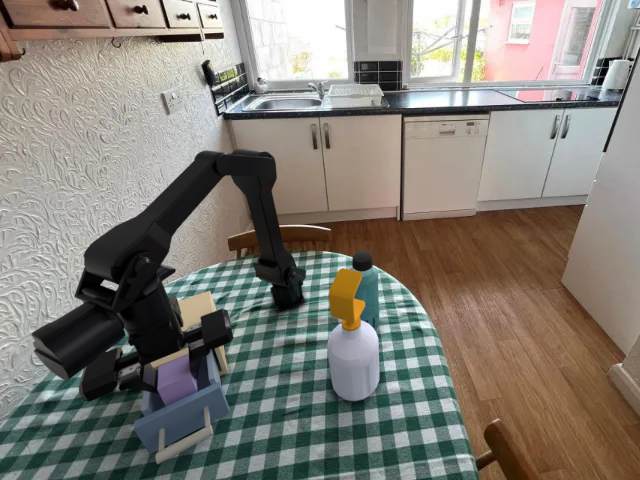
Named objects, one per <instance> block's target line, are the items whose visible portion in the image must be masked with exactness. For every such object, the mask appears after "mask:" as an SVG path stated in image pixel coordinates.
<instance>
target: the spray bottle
mask: <svg viewBox="0 0 640 480" xmlns="http://www.w3.org/2000/svg"><path fill="white" fill-rule="evenodd" d="M361 279H362V273H361V272H358V271H354V270H350V269H349V268H345V267H343V268H339V270H338V271H337V273H336V275H335V277H334V279H333V281H332V283H331V286H330V288H329V291H328V304H329V311H330V316H331V318H335V319H339V320H341V323H339V324H338V325H337V326H335V327H334V328H333V329H332V331H331V333H330V334H329V337H328V339H327V344H326V350H327V357H328V364H329V365H328V366H329V372H330V380H331V384H332V389H333V391H334V392H335V393H336V394H337V396H338V397H340V398H342V399H343V400H345V401H350V402H358V401H363V400H365V399H367V398H368V397H370V396H371V395H372V394H373V392H374V391H375V390H376V389H377V387H378V385H379V382H380V347H379V337H378V334H377V331H375V330H374V328H373V327H372V326H371V325H370V324H369V323H366V322H364V321H362V320H361V319H360V315H361V313H362V311H363V309H364V307H365V302H364V301H362V300H358V299H354V297H355V293H356V291H357V289H358V286H359V284H360V281H361Z"/></svg>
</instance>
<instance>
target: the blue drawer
mask: <svg viewBox="0 0 640 480" xmlns="http://www.w3.org/2000/svg"><path fill="white" fill-rule="evenodd" d="M156 373H157V374H158V370H156ZM197 390H198V392H196V393H194V394H192V395H189V396H187V397H185V398H183V399H181V400H179V401H177V402H175V403H172V404H170V405H168V406H165V404H164V402H163V400H162V398H161V396H160V394H156V393H152V392H148V391H143V394H142V403H141V413H142V414H143V417H140V418H139V419H136V420H134V422H133V430H134V432H135V434H136V435H137V437H138V438H139V440H140V442H141V443H142V445H143V447H144V448H145V450H146V452H147V453H148V454H149V455H151V454H153V453H155V452H156V453H155V462H156V464H157V465H160V464H161V463H164V462H165V461H167V460H169V459H171V458H173V457H174V456H176V455H178V454H180V453H182V452H184V451H185V450H188V449H189V448H191V447H193V446H195V445H197V444H199V443H201V442H203V441H204V440H207V439H208V438H210V437H212V436H213V435H214V429H213V425H212V424H211V423H213V422H215V421H217V420H218V419H221V418H223V417H224V416H227V415H228V414H230V406H229V404H228V403H229V402H228V400H227V398H226V395H225V393H224V390H223V387H222V383H221V376H220V374H219V367H218V359H217V355H216V352H215V349H213V350H212V349H210V353H209V355H207V356H205V357H204V358H203V360H202V362H201V365H200V368H199V374H198V379H197ZM203 427H204V428H203ZM199 429H200V430H199ZM197 430H198V431H197ZM195 431H196V432H195ZM188 435H189V436H188ZM176 441H177V442H176ZM174 442H175V443H174ZM172 443H173V444H172ZM168 445H169V446H168ZM166 446H167V447H166Z"/></svg>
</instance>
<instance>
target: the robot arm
mask: <svg viewBox="0 0 640 480" xmlns="http://www.w3.org/2000/svg"><path fill="white" fill-rule="evenodd" d="M227 176H230V177H231V180H232V182H233V183H234V185H235V186H236V187H237V188H238V189H239V190H240V191H241V193H242V194H243V195H244V196H245V198H246V199H245V200H246V202H247V206H248V210H249V213H250V217H251V220H252V225H253V229H254V233H255V236H256V240H257V243H258V248H259V251H260V252H259V256H258V258H257V259H256V261H254V262H253V263H252V266H253V269H254V272H255V278H258V280H260V281H262V282H265V283H268V284H271V286H270V288H269V289H270V294H271V299H272V302H273V305H274V307H275V308H276V307H277V308H276V309H277V310H278V312H279V313H283V312H286V311H288V310H291V309H293V308H296V307H298V306H301V305H303V304H305V303H306V298H305V296H304V292H303V285H304V281H305V280H306V277H307V269H303V268H301V267H298V266H297V263H296V260H295V257H294V256H293V255H292V254H291V253H290V251H289V250H287V248H286V247H285V246H284V240H283V235H282V232H281V227H280V223H279V218H278V214H277V209H276V204H275V200H274V194H273V189H274V187H275V183H276V181H277V179H278V174H277V162H276V159H275V156H274V155H273V154H271V153H270V152H269V151H266V150H265V151H264V150H258V149H248V148H236V149H234V150H233V151H232V152H224V151H216V150H208V149H207V150H206V149H205V150H202V151H199V152H197V153H196V155H195V157H194V159H193V161H192V162H191V163H190V164H189V165H188V166H187V167H186V168H185V169H184V170H183V171H182V172H181V173H180V174H179V175H178V176H177V177H176V178H175V179H174V180H173V181H172V182H171V183H170V184H169V185H168V186H167V187H166V188H164V190H163V191H162V192H161V193H160V194H159V195H157V197H156V198H155V199H154V200H153V201H152V202H150V203H149V205H147V206H146V208H144V209H143V210H142V211H141V212H139V214H137V215H136V216H134V217H133V218H130V219H128V220H125V221H122V222H121V223H119V224H116V225H115V226H113V227H112V228H111V229H109V230H108V231H106V232H105V233H103V234H102V235H101V236H99V237H98V238H96V239H95V240H94V241H92V242H91V243H90V244H89V246H88V247H87V248H86V249H85V251H84V252H83V265H84V268H83V271H82V273H81V277H80V278H79V282H78V283H77V287H76V290H75V292H74V298H75V299H77V300H79V301H82V304H80V305H78V306H77V307H75V308H74V309H72V310H70V311H69V312H67V313H65V314H64V315H62V316H60V317H59V318H57V319H55V320H53V321H50V322H48V323H46V324H44V325H42V326H41V327H39V328H37V329H36V330H33V331H32V333H31V337H32V338H33V340H34V341H33V342H32V345H33V347H34V350H33V353H34V354H35V356H36V357H37V358H38V359H39V361H40V362H41V363H42V364H43V365H44V366H45V367H46V368H47V369H48V370H50V371H51V372H52V373H53V374H54V375H55V376H57V377H58V378H60V379H61V380H64V381H69V380H71V378H73V377H74V376H76V375H77V374H78V373H79V372H81V371H82V373H81V377H80V380H79V383H78V393H79V395H80V396H81V398H82V399H83V402H87V403H90V402H92V401H95V400H97V399H100V398H103V397H104V396H107V395H109V394H111V393H113V392H114V391H115V390H116V389H117V387H118V391H120V392H125V391H127V390H130V391H140V392H141V391H148V392H152V393H156V394H159V392H158V390H157V384H158V374H157V373H156V371H155V370H154V368H153V367H152V365H151V362H154V361H156V360H159V359H161V358H164V357H166V356H169V355H171V354H173V353H176V352H178V351H180V350H183V349H185V348H187V347H188V350H189V363H190V367H191V371H192V375H193V377H194V378H195V379H198V374H199V368H200V365H201V362H202V360H203V358H204V357H205V356H207V355H209V353H210V349H212V350H213V349H216V348H218V347H220V346H223V345H224V346H225V345H228V344H230V343H232V342H233V340H234V333H233V328H232V322H231V318H230V314H229V311H228V310H227V309H226V308H223V307H222V308H219V309H216V310H217V311H214V312H212V313H209V314H206V315H203V316H201V322H199V323H196V324H194V325H191V326H189V327H188V328H187V330H186V331H183V332H182V329H181V327H184V322H183V319H182V317H181V310H180V307H179V304H178V298H177V295H174V296H170V297H169V295H168V293H167V291H166V288H165V286H164V283H163V281H165V280H166V279H168V278H170V277H171V276H172V275H173V274H175V273H176V271H177V270H176V268H175V267H172V266H169V265H166V264H163V262H164V261H165V260H166V258H167V256H168V255H169V253H170V249H171V244H172V241H173V240H172V239H173V236H175V234H176V232H177V230H179V228H180V227H181V226H182V225H183V223H184V222H186V220H187V219H188V218H189V217H190V216H191V214H193V213H194V211H195V210H196V209H197V208H198V206H200V204H201V203H202V202H203V201H204V200H205V199H206V198H207V196H208V195H210V193H211V192H212V191H213V189H214V188H215V187H217V185H218V184H219V183H220V181H222V180H223V178H224V177H227ZM104 281H107V282H110V283H112V284H115V285H118V286H117V289H116V290H115V289H112V288H110V287H107V286H103V285H102V284H103V282H104ZM126 333H127V336H128V339H127V342H128V345H129V346H130V347H134V349H135V350H136V351H134V352H132V353H129V354H127V355H124V350H123V348H122V346H118V347H115V348H113V347H114V346H115V345H117V344H118V343H120V342H121V341H122V339H124V338H125V337H126ZM112 348H113V349H112Z"/></svg>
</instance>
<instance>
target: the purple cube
mask: <svg viewBox="0 0 640 480" xmlns="http://www.w3.org/2000/svg"><path fill="white" fill-rule="evenodd" d="M157 390H158V392H159V394H160V396H161V398H162V400H163V402H164V404H165V406H168V405H170V404H172V403H175V402H177V401H179V400H181V399H183V398H185V397H187V396H189V395H192V394H194V393H196V392H198V390H197V379H195V378H194V377H193V375H192V371H191V367H190V363H189V354H188V355H186V356H183V357H181V358H179V359H176V360H174V361H171V362H169V363H167V364H164V365H162V366H159V367H158V384H157Z"/></svg>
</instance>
